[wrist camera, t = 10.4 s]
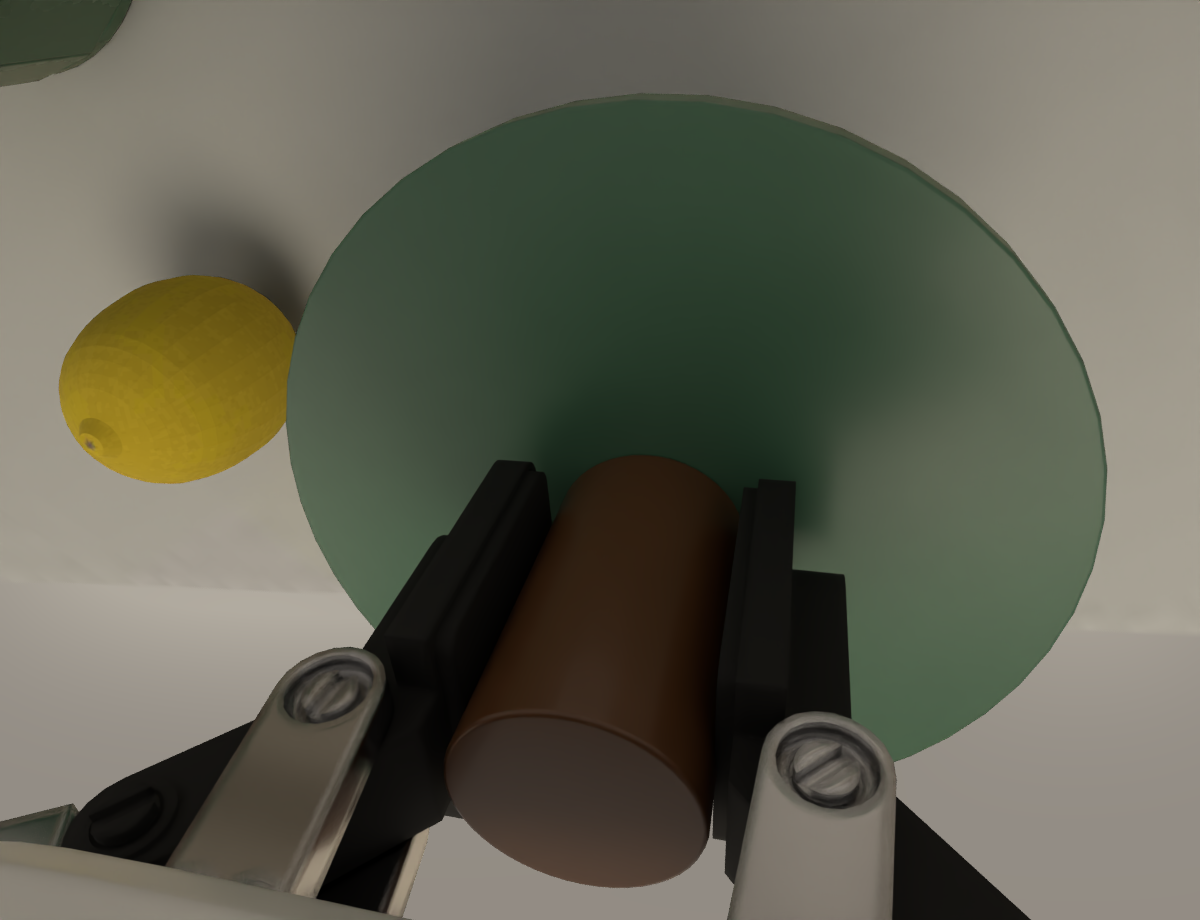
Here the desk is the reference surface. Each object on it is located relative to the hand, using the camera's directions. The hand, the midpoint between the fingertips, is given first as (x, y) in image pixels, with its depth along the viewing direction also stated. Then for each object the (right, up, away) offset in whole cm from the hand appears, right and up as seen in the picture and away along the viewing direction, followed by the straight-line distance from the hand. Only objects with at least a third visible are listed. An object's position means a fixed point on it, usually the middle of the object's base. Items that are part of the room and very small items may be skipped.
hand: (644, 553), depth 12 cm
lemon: (-12, +6, +14) cm, 19 cm away
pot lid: (0, +1, +1) cm, 1 cm away
